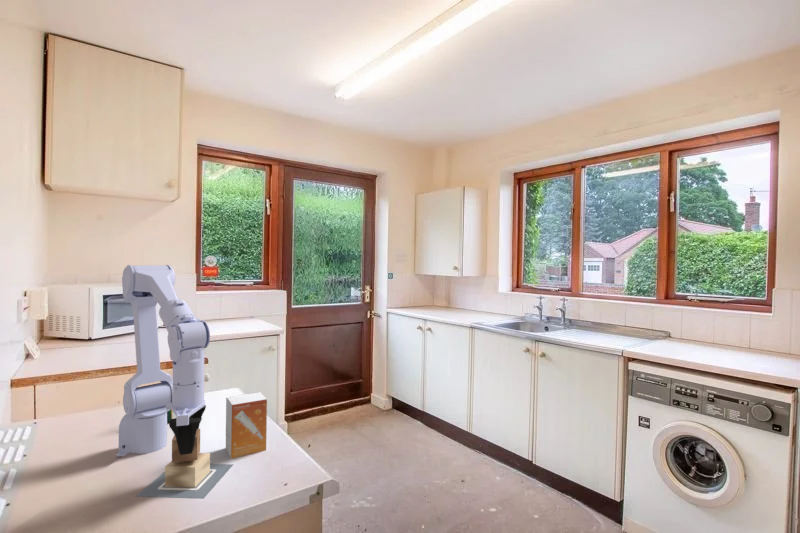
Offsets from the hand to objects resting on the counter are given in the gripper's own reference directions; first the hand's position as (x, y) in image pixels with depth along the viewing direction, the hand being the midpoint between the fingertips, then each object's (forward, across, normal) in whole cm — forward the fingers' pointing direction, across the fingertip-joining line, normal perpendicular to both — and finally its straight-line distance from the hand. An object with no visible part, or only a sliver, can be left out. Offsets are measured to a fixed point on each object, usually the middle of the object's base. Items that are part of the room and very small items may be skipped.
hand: (188, 447), depth 85 cm
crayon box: (+7, -40, -9) cm, 41 cm away
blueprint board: (+7, 0, 0) cm, 7 cm away
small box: (+7, -11, +11) cm, 17 cm away
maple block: (+6, 0, 0) cm, 6 cm away
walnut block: (+2, 0, 0) cm, 2 cm away
